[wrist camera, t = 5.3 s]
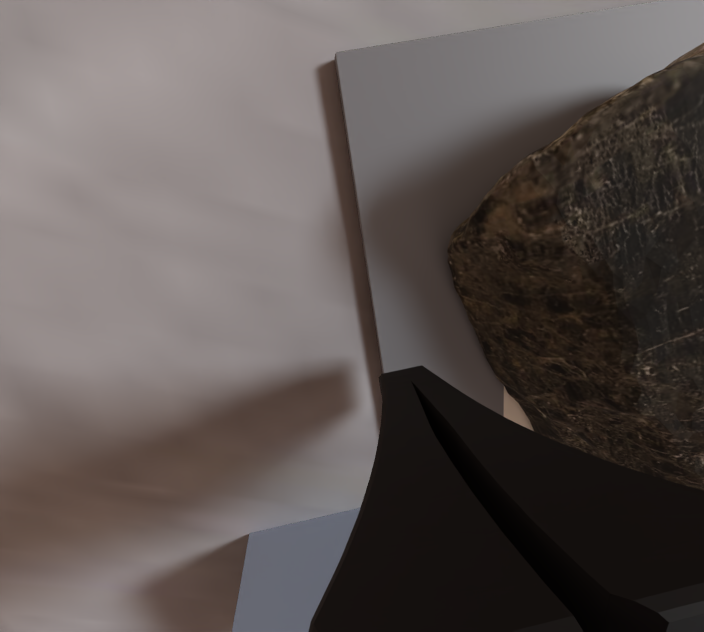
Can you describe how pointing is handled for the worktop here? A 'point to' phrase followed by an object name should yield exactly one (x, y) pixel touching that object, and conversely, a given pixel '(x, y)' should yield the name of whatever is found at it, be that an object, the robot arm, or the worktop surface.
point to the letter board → (474, 154)
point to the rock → (602, 278)
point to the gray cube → (290, 572)
